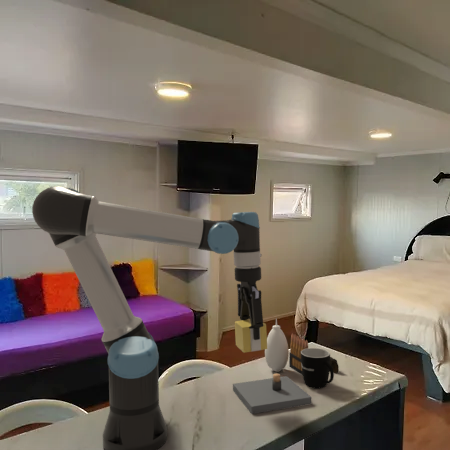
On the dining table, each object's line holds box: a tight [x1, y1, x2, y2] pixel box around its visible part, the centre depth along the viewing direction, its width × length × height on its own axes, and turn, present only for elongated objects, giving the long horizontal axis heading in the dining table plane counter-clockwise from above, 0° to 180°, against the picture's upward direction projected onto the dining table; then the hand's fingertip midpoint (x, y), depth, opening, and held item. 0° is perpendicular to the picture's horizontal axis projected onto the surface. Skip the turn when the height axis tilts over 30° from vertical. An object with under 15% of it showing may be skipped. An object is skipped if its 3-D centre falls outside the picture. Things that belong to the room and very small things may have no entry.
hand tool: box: [329, 356, 340, 374], centre depth 151 cm, size 19×4×5 cm, turn 26°
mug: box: [301, 347, 335, 390], centre depth 133 cm, size 12×9×10 cm
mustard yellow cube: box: [234, 319, 268, 354], centre depth 123 cm, size 7×7×7 cm
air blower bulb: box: [264, 317, 290, 373], centre depth 146 cm, size 8×8×18 cm
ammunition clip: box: [288, 332, 309, 376], centre depth 146 cm, size 11×2×12 cm, turn 22°
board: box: [232, 373, 312, 415], centre depth 126 cm, size 18×16×6 cm
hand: (251, 346), depth 124 cm, fingers closed on mustard yellow cube, 7 cm apart
